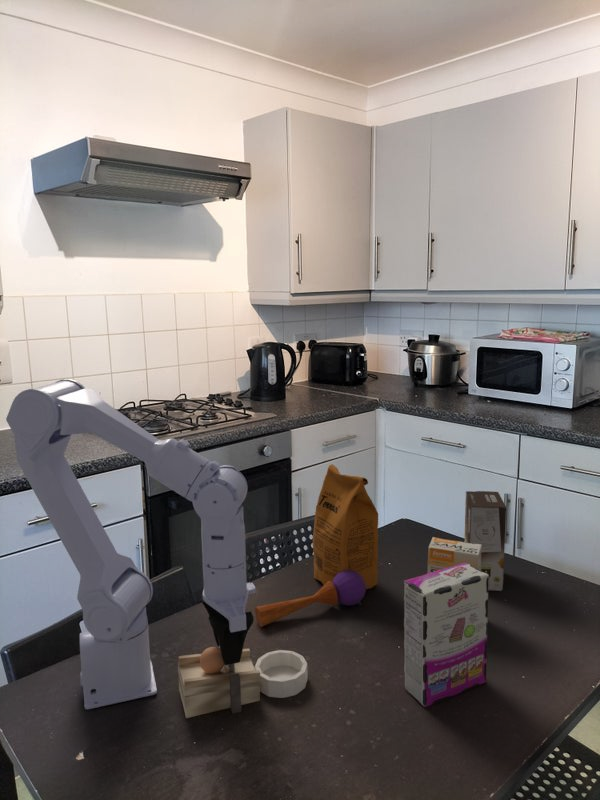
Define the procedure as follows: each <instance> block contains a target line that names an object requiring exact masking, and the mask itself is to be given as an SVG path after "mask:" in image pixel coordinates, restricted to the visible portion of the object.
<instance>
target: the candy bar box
mask: <svg viewBox="0 0 600 800" xmlns="http://www.w3.org/2000/svg"><path fill="white" fill-rule="evenodd" d="M488 577H489V575H488V574H486V573H484V572H483V571H480V570H479V569H477V568H475V567H472V565H470V564H468V563H462V564H459V565H455V566H452V567H449V568H445V569H442V570H438V571H435V572H432V573H428V574H427V573H425V574H422V575H420V576H416V577H412V578H409V579H405V580H403V628H404V630H403V637H404V638H403V646H404V647H403V648H404V649H403V650H404V651H403V653H404V654H403V657H404V658H403V661H404V663H403V667H404V668H403V671H404V674H403V678H404V679H403V680H404V681H403V682H404V683H403V686H404V687H403V688H404V689H405V691H406V692H407V693H408V694H409V695H411V697H413V698H414V699H415V700H416V701H417V702H418V703H420V705H422V706H423V707H424V708H427V707H428V708H429V707H430V706H432V705H435V704H438V703H439V702H443V701H444V700H447V699H449V698H451V697H455V696H456V695H459V694H461V693H463V692H467V691H469V690H471V689H472V688H475V687H478V686H480V685H482V684H485V683H487V666H488V665H487V658H488V657H487V655H488V651H487V650H488V624H489V623H488V617H489V613H488V612H489V611H488V609H489V590H488V579H489V578H488Z"/></svg>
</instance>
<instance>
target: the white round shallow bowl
mask: <svg viewBox="0 0 600 800" xmlns="http://www.w3.org/2000/svg"><path fill="white" fill-rule="evenodd" d="M254 668H255V670H259V671H260V682H259V684H260V693H262V694H264V695H265V696H267V697H269V698H277V699H284V698H289V697H293V696H296V695H298V694H299V693H301V692H302V691H303V690H304V689H306V686H307V682H308V662H307V660H306V659H305V658H304V656H303V655H301V654H299V653H297V652H296V651H294V650H293V651H292V650H283V649H277V650H274V651H269V652H266V653H265V654H263V655H262V656H260V657H258V658H257V661H256V663H255V665H254Z"/></svg>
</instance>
